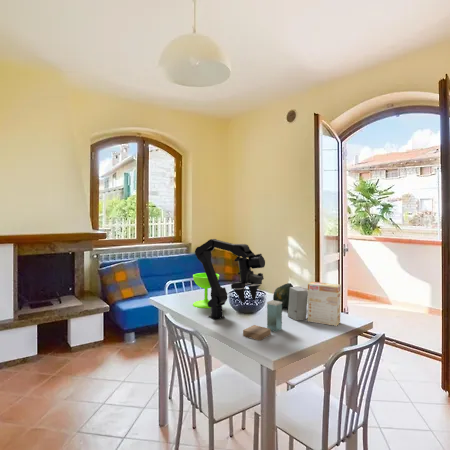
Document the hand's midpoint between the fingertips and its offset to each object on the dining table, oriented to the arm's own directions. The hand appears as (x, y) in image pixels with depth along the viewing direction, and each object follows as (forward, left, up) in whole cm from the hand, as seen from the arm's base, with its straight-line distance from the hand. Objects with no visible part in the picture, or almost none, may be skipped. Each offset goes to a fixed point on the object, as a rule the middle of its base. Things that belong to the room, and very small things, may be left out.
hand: (249, 301), depth 162 cm
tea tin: (+11, +6, -12) cm, 18 cm away
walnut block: (+12, -6, -12) cm, 18 cm away
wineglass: (-44, +3, -12) cm, 45 cm away
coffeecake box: (+18, +34, -12) cm, 41 cm away
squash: (-13, +39, -12) cm, 43 cm away
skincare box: (+6, +28, -12) cm, 31 cm away
